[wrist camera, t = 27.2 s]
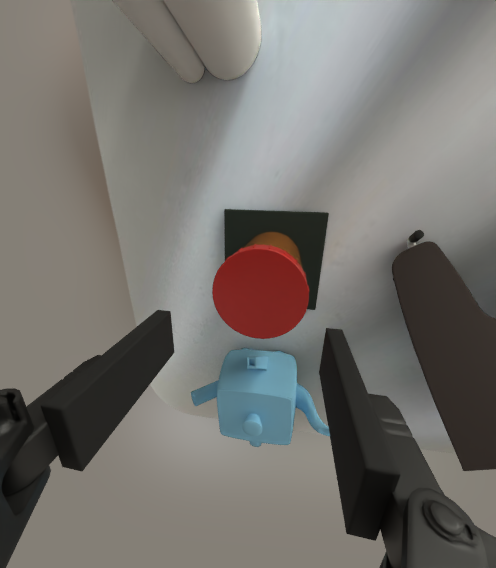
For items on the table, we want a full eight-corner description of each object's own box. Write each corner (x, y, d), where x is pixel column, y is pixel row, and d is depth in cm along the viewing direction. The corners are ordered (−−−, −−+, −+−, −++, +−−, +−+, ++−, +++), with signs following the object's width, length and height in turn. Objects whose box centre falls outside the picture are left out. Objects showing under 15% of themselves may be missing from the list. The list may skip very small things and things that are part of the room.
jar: (243, 230, 28) (215, 247, 18) (303, 233, 27) (311, 253, 17) (242, 286, 30) (217, 328, 20) (297, 290, 29) (300, 338, 19)
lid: (217, 241, 19) (209, 245, 17) (312, 246, 18) (315, 250, 16) (219, 323, 22) (213, 333, 20) (302, 332, 20) (304, 344, 19)
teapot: (210, 394, 39) (184, 455, 29) (202, 319, 34) (168, 365, 25) (321, 407, 36) (332, 481, 26) (330, 328, 31) (347, 383, 21)
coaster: (225, 209, 28) (224, 209, 27) (328, 212, 26) (328, 213, 26) (226, 299, 32) (225, 301, 32) (314, 308, 30) (315, 310, 30)
